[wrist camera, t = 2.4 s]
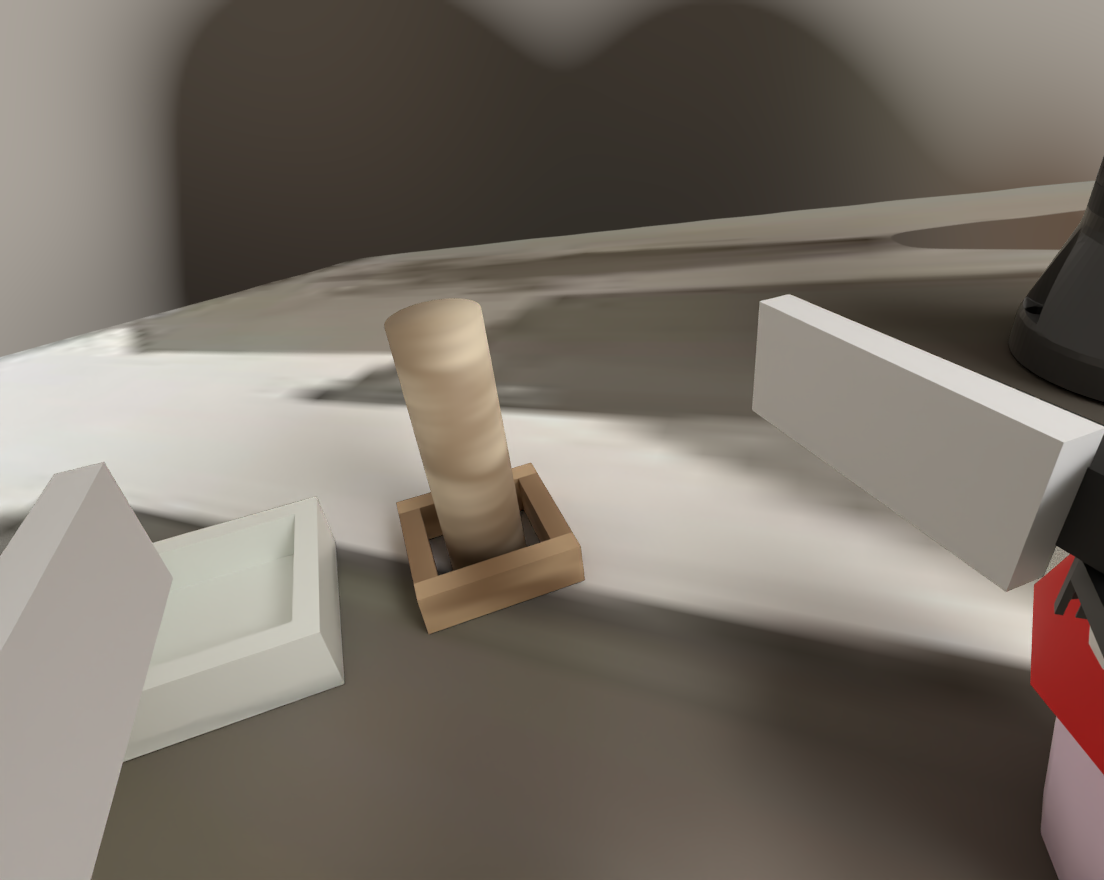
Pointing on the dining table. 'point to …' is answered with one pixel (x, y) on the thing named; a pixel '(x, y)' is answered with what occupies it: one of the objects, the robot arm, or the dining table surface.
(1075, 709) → the mushroom
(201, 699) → the tray
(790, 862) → the dining table surface
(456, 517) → the dowel
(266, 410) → the dining table surface
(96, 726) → the robot arm
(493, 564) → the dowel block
